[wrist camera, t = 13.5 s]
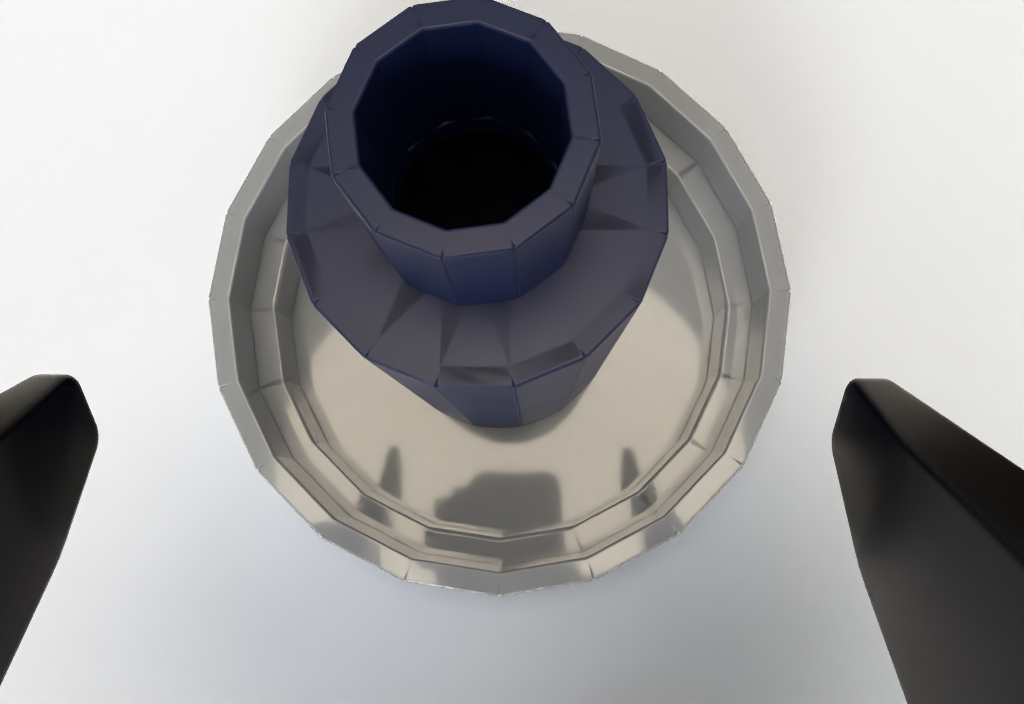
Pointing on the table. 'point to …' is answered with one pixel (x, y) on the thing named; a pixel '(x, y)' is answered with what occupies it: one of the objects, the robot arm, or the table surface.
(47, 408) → the robot arm
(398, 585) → the table surface
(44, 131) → the table surface
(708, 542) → the table surface
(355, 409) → the steel dish
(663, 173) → the dark blue vase
